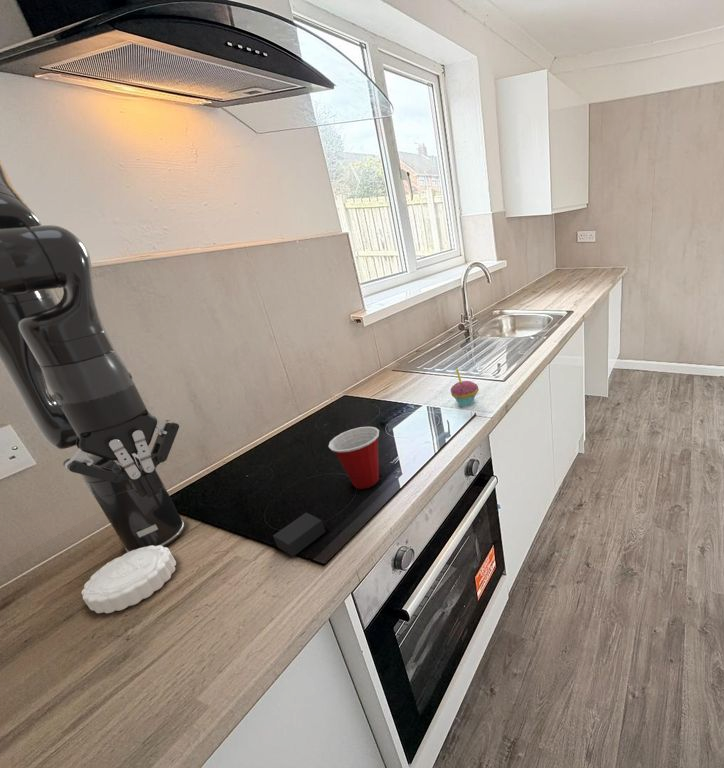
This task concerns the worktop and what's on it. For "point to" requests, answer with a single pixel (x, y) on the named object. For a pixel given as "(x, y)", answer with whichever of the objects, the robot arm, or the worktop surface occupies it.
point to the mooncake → (128, 579)
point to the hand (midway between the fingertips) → (152, 494)
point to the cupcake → (464, 391)
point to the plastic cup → (358, 455)
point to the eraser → (299, 534)
